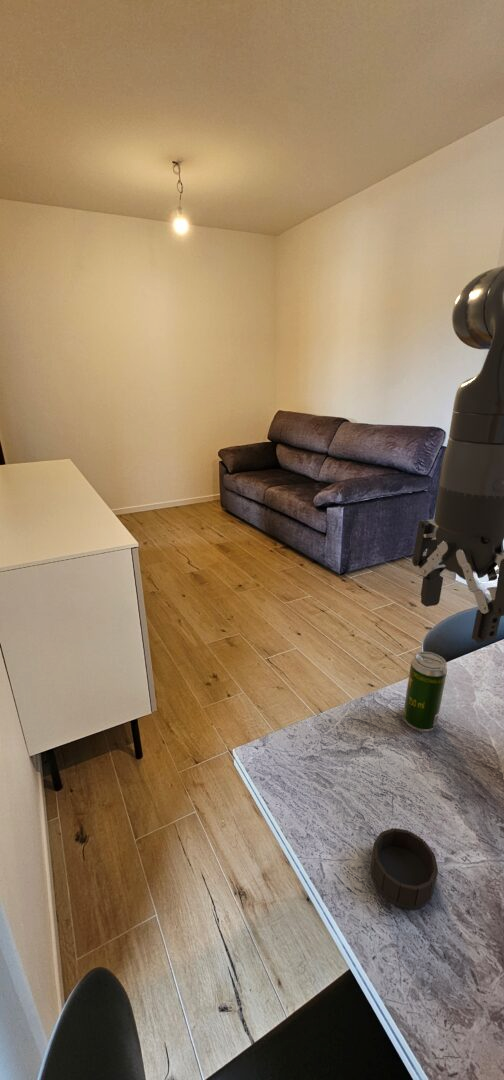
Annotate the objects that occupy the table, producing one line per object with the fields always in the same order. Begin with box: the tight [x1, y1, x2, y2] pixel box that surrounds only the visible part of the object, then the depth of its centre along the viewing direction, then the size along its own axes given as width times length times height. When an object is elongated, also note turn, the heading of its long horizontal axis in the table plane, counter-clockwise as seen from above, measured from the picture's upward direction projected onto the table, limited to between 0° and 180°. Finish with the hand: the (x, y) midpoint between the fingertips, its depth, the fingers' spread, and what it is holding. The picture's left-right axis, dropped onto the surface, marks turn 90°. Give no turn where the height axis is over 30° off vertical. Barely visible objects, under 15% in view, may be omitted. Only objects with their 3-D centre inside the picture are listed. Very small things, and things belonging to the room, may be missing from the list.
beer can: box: [402, 651, 448, 733], centre depth 73 cm, size 5×5×12 cm
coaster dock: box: [370, 827, 439, 911], centre depth 52 cm, size 7×7×3 cm
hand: (453, 621), depth 52 cm, fingers open, 8 cm apart
